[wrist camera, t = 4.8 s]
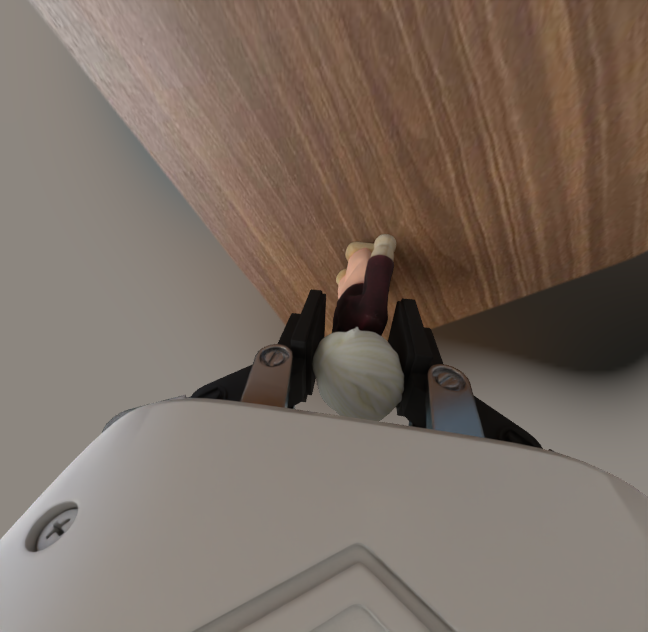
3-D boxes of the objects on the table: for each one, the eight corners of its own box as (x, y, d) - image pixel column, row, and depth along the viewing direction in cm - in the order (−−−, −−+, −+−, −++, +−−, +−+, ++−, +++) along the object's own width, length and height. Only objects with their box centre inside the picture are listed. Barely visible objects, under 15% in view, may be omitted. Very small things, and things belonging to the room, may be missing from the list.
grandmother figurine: (374, 310, 21) (386, 476, 10) (328, 302, 21) (294, 457, 10) (403, 213, 16) (479, 328, 6) (346, 203, 16) (317, 298, 6)
